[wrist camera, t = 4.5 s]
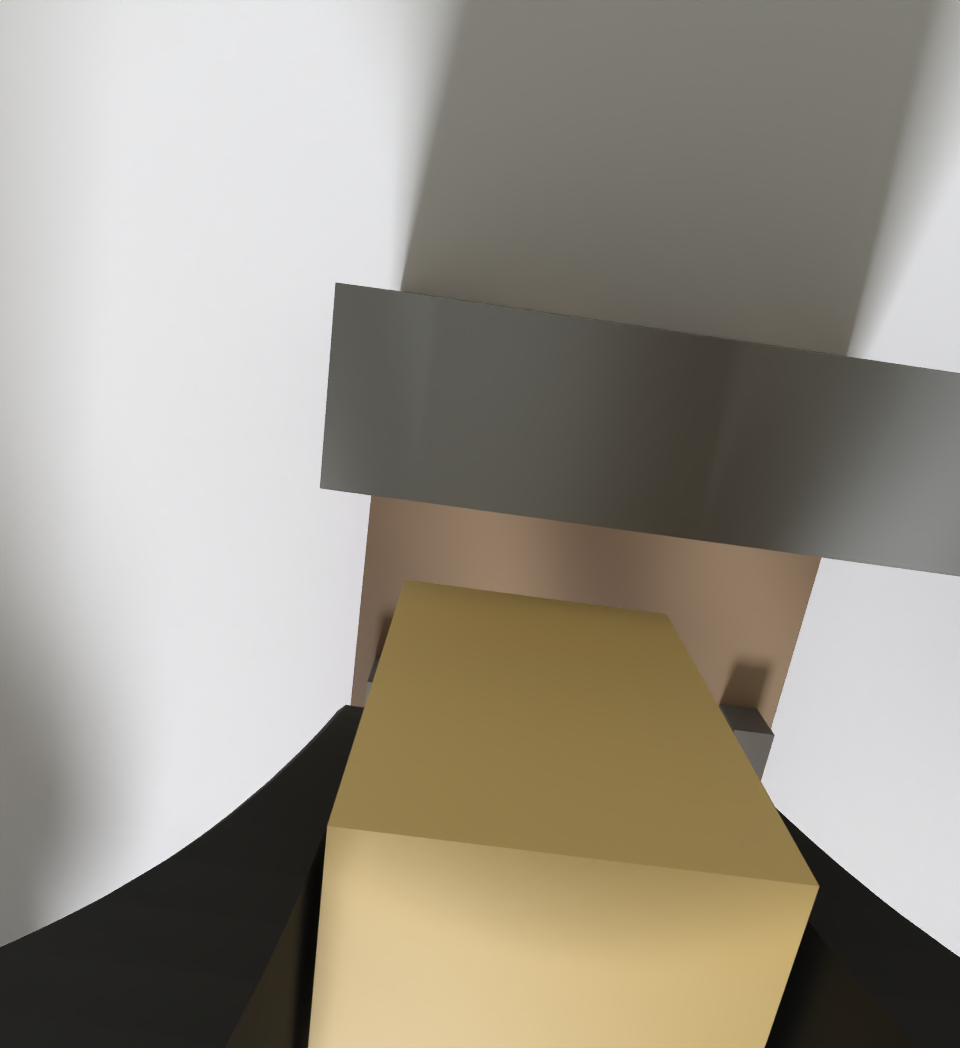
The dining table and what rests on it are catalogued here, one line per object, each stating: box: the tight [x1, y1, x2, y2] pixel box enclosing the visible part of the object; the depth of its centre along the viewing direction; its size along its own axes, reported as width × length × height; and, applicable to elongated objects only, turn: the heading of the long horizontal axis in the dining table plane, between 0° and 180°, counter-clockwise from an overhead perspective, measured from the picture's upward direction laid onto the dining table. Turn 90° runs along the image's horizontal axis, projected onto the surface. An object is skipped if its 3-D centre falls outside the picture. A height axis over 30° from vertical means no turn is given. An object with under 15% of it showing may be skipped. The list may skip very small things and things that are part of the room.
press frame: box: [320, 283, 960, 781], centre depth 17 cm, size 11×24×8 cm, turn 172°
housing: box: [308, 580, 819, 1048], centre depth 10 cm, size 4×4×6 cm
